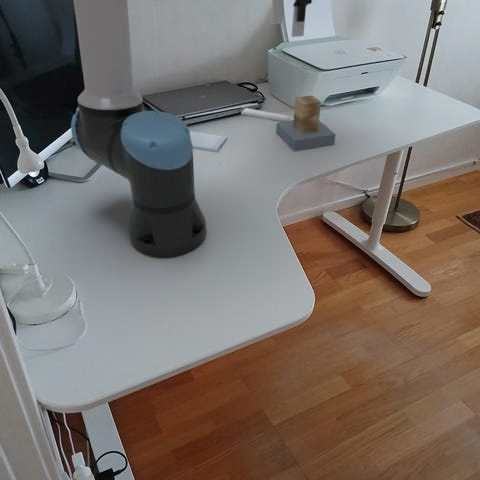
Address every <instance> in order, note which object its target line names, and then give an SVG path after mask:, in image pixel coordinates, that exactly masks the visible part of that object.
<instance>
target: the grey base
mask: <svg viewBox="0 0 480 480" xmlns="http://www.w3.org/2000/svg"><path fill="white" fill-rule="evenodd" d="M293 122H294V119H293V121H286V122H281V121H278V122H276V128H275V129H276V130H275V133H276V135H278V136H279V137H280V138H281V140H283V142H284V143H286V145H287V146H288V147H289V148H290V149H291V150H292V151H293V152H297V151H302V150H309V149H313V148H315V149H316V148H321V147H327V146H333V145H334V146H335V141H336V133H335V132H334V131H332V129H330V128H329V127H327V125H325V124H324V123H323V122H321V121H320V120H319V124H318V131H313V132H306V133H300V132H299V131H298V130H297V129H296V128H295V127H294V126H293Z"/></svg>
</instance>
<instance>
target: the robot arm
mask: <svg viewBox="0 0 480 480" xmlns="http://www.w3.org/2000/svg"><path fill="white" fill-rule="evenodd" d="M312 3H313V0H294V2H293V5H292V6H293V14H292V27H291V37H292V38H297V37H299V38H300V37H304V35H305V25H306V23H305V21H306V12H307V6H308V5H311V4H312ZM73 4H74V5H73V6H74V14H75V22H76V29H77V37H78V44H79V52H80V53H79V54H80V59H81V60H80V61H81V67H82V68H81V70H82V74H83V83H84V89H83V91H82V92H81V93H80V94H79V96H77V104H78V106H77V108H76V109H75V111H76V112H75V114H73V115H72V118H71V122H70V129H71V130H70V131H71V135H72V138H73V141H74V144H75V145H76V146H77V148H78V149H79V150H80V152H81V153H83V154H84V155H85V156H86V157H88V158H89V159H90V160H92V161H93V162H95V163H96V164H99V165H101V166H104V167H105V168H108V170H111V171H112V172H114V173H115V174H117V175H119V176H121V177H123V178H125V180H127V181H128V183H129V185H130V191H131V196H132V198H131V199H132V209H131V216H130V220H129V224H128V234H129V235H128V236H129V240H130V243H131V245H132V246H133V248H134V249H136V250H137V251H138V252H140V253H142V254H144V255H146V256H149V257H155V258H171V257H177V256H182V255H184V254H188V253H189V252H191V251H193V250H195V249H196V248H198V247H199V246H200V245H201V244H202V243H203V242H204V241H205V238H206V235H207V224H206V223H207V222H206V218H205V216H204V214H203V212H202V210H201V207H200V206H199V203H198V201H197V198H196V193H195V192H196V191H195V190H196V189H195V172H194V169H195V168H194V155H193V153H194V149H193V145H192V142H191V137H190V132H191V131H190V129H189V127H188V124H186V123H185V121H183V119H181V118H179V116H176V115H175V114H172V113H168V112H166V111H165V112H164V111H160V112H158V111H157V110H146V111H145V110H144V101H143V100H144V99H143V96H142V95H141V94H140V93H139V91H137V90H136V89H135V88H134V77H133V75H134V74H133V64H132V62H133V61H132V49H131V36H130V32H131V31H130V21H129V20H130V19H129V7H128V0H73ZM283 9H284V0H271V19H270V20H271V21H270V24H271V25H281V24H282V25H283V12H284V10H283Z"/></svg>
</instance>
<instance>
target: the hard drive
mask: <svg viewBox="0 0 480 480" xmlns="http://www.w3.org/2000/svg"><path fill="white" fill-rule="evenodd" d="M190 137H191V142H192V145H193V150H196V151H204V152H212V153H218V152H219V151H220V150H221V148H222V147H223V146H224V145H225V143H227V141H228V136H222V135H217V134H210V133H203V132H197V131H190Z"/></svg>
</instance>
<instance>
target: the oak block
mask: <svg viewBox="0 0 480 480" xmlns="http://www.w3.org/2000/svg"><path fill="white" fill-rule="evenodd" d="M294 98H295V99H294V108H293V109H294V111H293V120H294V122H293V126H294V127H295V128H296V129H297V130H298V131H299V132H300V133H306V132H313V131H318V124H319V121H320V115H321V114H320V113H321V105H322V101H321V100H319V99H318V98H316V97H315V96H314V95H307V96H305V95H304V96H299V97H298V96H297V97H294Z"/></svg>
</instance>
